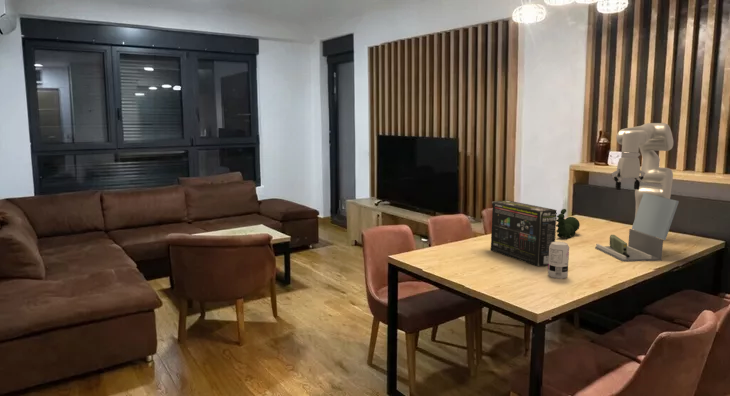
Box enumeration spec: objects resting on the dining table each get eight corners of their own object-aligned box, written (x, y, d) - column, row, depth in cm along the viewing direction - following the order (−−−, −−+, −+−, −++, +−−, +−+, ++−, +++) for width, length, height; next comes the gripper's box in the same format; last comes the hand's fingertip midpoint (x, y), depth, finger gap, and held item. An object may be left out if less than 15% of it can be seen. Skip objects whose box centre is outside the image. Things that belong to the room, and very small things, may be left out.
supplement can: (544, 273, 230) (546, 241, 228) (562, 273, 231) (564, 241, 229) (552, 279, 222) (554, 245, 220) (570, 278, 223) (572, 245, 221)
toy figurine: (567, 243, 292) (583, 232, 310) (568, 211, 288) (584, 202, 306) (551, 241, 299) (568, 230, 316) (552, 210, 295) (568, 201, 312)
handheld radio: (615, 246, 275) (632, 258, 250) (608, 246, 275) (624, 258, 251) (615, 234, 274) (632, 245, 249) (609, 234, 274) (625, 245, 250)
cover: (631, 228, 275) (633, 229, 275) (663, 239, 249) (665, 240, 250) (643, 193, 273) (645, 193, 273) (676, 200, 247) (679, 201, 247)
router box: (555, 264, 245) (558, 209, 241) (538, 267, 240) (541, 211, 236) (505, 248, 277) (507, 199, 273) (489, 250, 272) (490, 200, 268)
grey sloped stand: (630, 247, 277) (631, 228, 275) (661, 260, 251) (663, 240, 249) (595, 248, 275) (596, 229, 274) (623, 261, 249) (624, 241, 248)
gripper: (641, 154, 260) (639, 188, 262) (609, 155, 258) (606, 188, 261) (650, 156, 252) (648, 190, 255) (617, 156, 251) (615, 190, 254)
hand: (627, 189), depth 258 cm, fingers open, 9 cm apart
